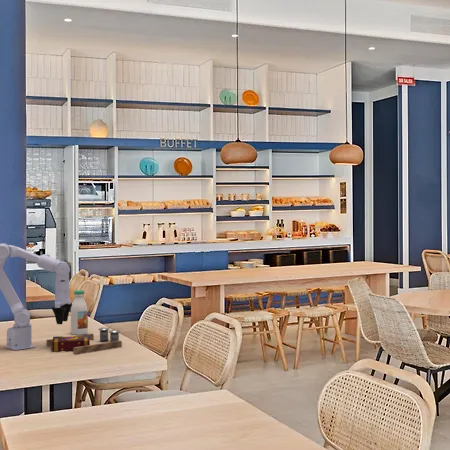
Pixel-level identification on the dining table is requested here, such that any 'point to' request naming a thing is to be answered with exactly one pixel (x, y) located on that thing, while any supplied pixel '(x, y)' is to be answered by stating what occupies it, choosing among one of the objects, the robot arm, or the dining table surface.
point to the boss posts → (104, 335)
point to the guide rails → (91, 347)
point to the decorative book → (69, 342)
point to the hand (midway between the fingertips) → (62, 322)
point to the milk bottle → (79, 314)
